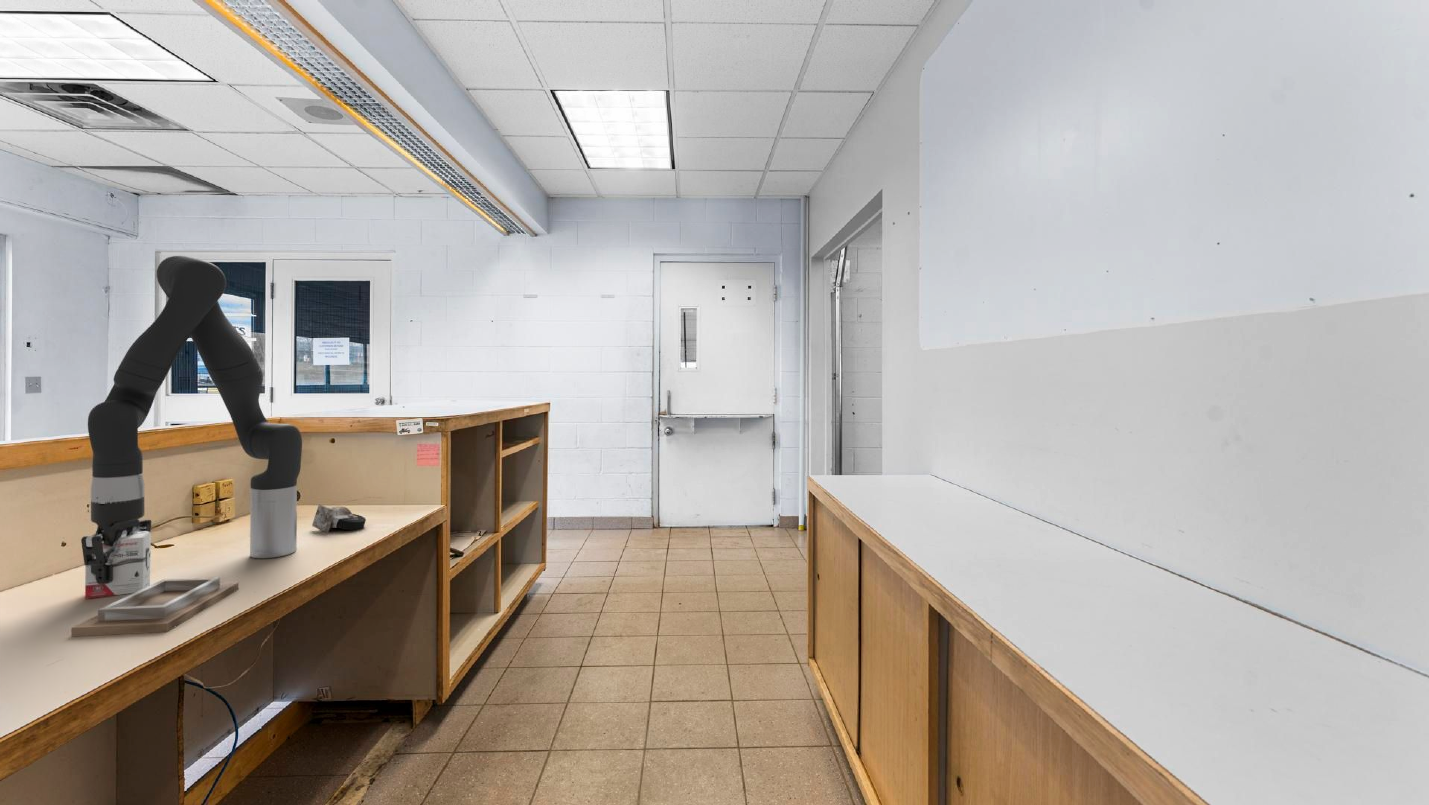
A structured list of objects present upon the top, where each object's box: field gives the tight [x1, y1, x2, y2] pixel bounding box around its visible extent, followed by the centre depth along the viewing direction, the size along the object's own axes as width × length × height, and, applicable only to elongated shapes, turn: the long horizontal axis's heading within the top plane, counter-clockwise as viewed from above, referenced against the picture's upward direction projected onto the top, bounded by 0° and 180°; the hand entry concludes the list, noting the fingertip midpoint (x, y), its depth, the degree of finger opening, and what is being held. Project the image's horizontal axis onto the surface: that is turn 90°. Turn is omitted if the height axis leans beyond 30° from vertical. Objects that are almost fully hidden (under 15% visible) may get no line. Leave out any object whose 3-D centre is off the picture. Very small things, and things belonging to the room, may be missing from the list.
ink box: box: [84, 531, 152, 600], centre depth 114 cm, size 9×5×12 cm, turn 123°
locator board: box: [70, 577, 240, 637], centre depth 107 cm, size 20×14×4 cm
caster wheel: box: [311, 504, 367, 534], centre depth 165 cm, size 7×11×10 cm
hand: (118, 577), depth 114 cm, fingers closed on ink box, 6 cm apart
